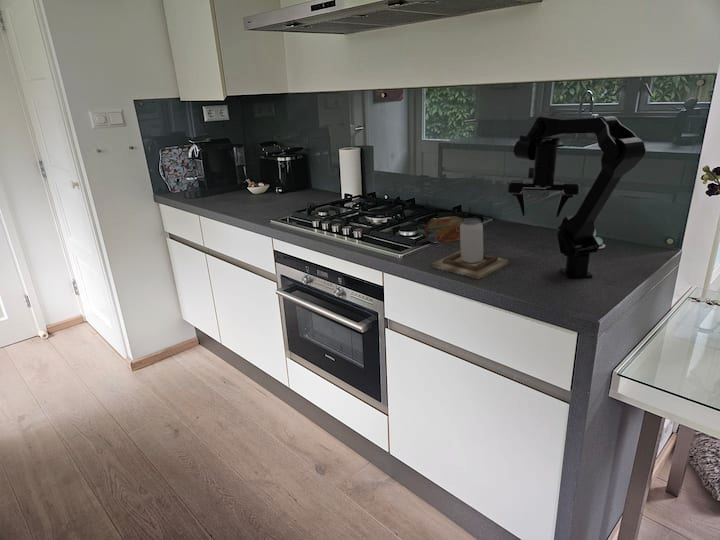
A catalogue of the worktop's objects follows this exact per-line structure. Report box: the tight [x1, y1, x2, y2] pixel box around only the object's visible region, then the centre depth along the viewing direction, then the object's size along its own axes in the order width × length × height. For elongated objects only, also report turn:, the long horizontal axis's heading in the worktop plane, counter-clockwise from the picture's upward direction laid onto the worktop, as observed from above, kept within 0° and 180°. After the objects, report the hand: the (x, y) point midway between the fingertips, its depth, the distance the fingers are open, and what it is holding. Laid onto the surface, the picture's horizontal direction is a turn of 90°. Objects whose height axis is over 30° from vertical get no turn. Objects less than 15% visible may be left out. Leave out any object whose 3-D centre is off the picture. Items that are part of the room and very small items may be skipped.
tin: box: [424, 215, 465, 244], centre depth 166 cm, size 15×3×8 cm, turn 105°
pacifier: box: [593, 229, 606, 250], centre depth 154 cm, size 7×6×6 cm
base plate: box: [431, 250, 509, 280], centre depth 144 cm, size 16×16×2 cm
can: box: [459, 217, 484, 263], centre depth 142 cm, size 6×6×12 cm
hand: (540, 216), depth 143 cm, fingers open, 9 cm apart
